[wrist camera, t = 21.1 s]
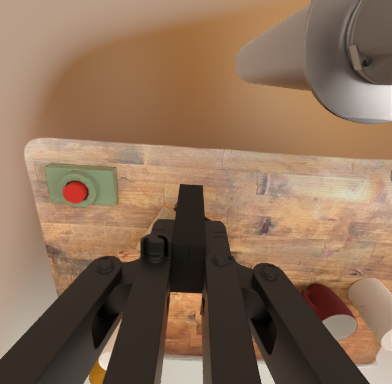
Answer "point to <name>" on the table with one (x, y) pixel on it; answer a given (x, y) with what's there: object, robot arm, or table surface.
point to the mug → (331, 311)
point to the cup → (374, 308)
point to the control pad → (88, 175)
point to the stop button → (75, 192)
